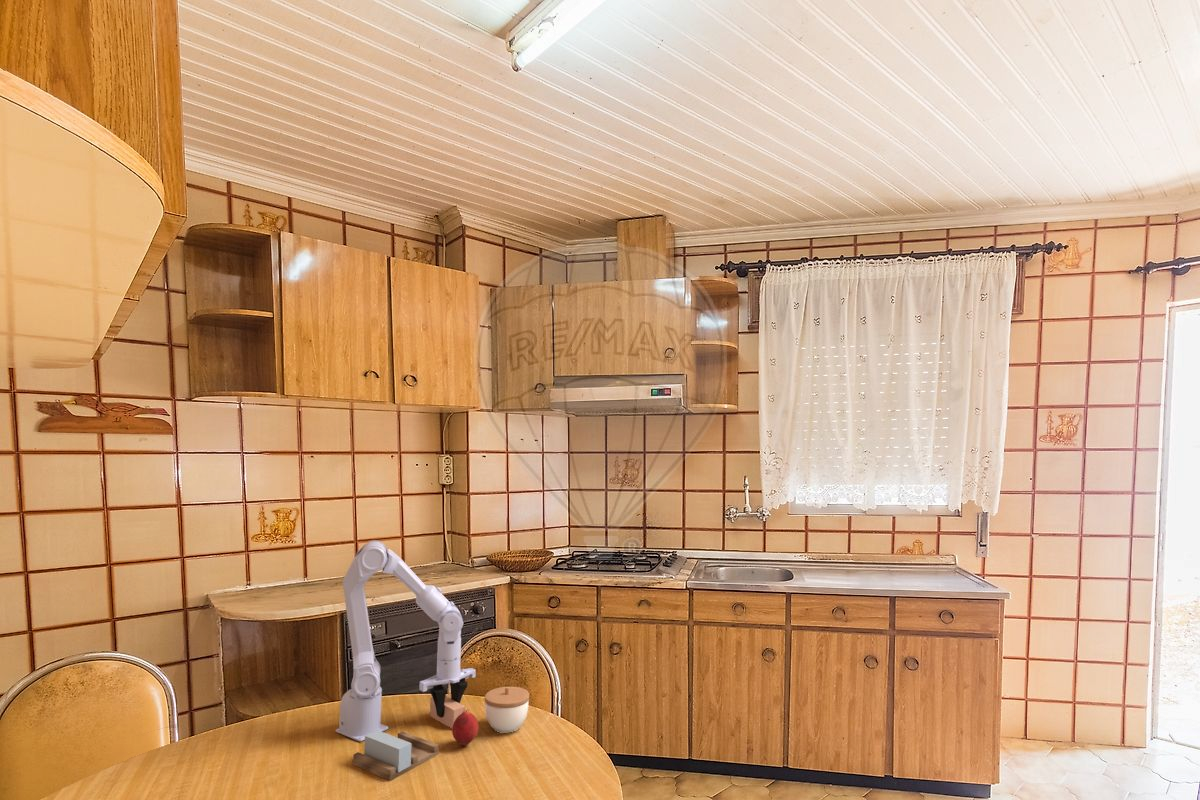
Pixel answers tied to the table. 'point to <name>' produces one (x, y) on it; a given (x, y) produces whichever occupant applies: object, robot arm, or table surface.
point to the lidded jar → (506, 708)
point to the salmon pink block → (447, 711)
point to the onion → (465, 728)
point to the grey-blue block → (388, 750)
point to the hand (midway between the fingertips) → (447, 713)
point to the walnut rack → (419, 755)
